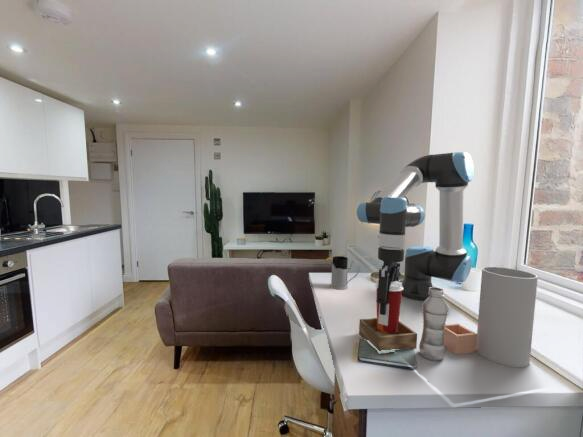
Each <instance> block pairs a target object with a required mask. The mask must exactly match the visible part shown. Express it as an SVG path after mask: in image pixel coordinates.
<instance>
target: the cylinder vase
mask: <svg viewBox="0 0 583 437" xmlns="http://www.w3.org/2000/svg"><path fill="white" fill-rule="evenodd" d="M538 277H539V276H538V275H537V274H536V273H533V272H530V271H525V270H522V269H515V268H511V267H510V268H508V267H502V266H484V267H482V268H481V279H480V290H479V291H480V293H479V303H478V315H477V316H478V317H477V318H478V320H477V329H476V330H477V331H476V333H477V346H476V352H478V354H479V355H481V356H482V357H483V358H485V359H487V360H489V361H491V362H493V363H496V364H499V365H502V366H504V367H505V366H506V367H510V368H526V367H528V366H529V365H530V362H531V353H532V352H531V351H532V341H533V331H534V319H535V309H536V299H537V287H538Z"/></svg>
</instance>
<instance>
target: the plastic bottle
mask: <svg viewBox="0 0 583 437" xmlns="http://www.w3.org/2000/svg"><path fill="white" fill-rule="evenodd" d="M444 292H445V291H444V289H443V288H440V287H437V286H436V287H435V286H433V287H430V288H429V292H428V295H429V297H428V298H427V299H426V300H425V301H423V303H422V319H423V322H422V323H423V324H422V332H421V333H422V334H421V339H420V342H419V346H418V347H419V348H418V349H419V352H420V354H421V356H422V357H423V358H424V359H427V360H428V361H433V362H440V361H442V360H444V357H445V355H446V347H445V345H444V330H445V329H444V328H445V325H446V321H447V317H448V314H449V307H448V305H447V302H445V299H444V297H445V295H444Z"/></svg>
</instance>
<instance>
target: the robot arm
mask: <svg viewBox="0 0 583 437" xmlns="http://www.w3.org/2000/svg"><path fill="white" fill-rule="evenodd" d="M474 174H475V166H474V162H473V159H472V156H471V155H470V154H469V153H468V152H465V151H461V152H460V151H459V152H458V151H454V152H445V153H438V154H427V155H423V156H420V157H418V158H416V159H414V160H413V161H411V162H409V163H408V164H406V166H405V167H404V168H402V169H401V170H400V173H399V175H398V176H397V177H396V178H395V179H394V180H392V182H390V184H388V185H387V186H386V187H385V188H384V189H383V190H382V191H381V192H380V193H379V194H378V195H377V196H375V197H374V198H373V199H372V200H371V201H370V202H368V201H367V202H366V201H365V202H361V203H359V204H358V206H357V208H356V218H357V220H359V221H360V222H361V223H366V224H376V225H379V230H378V232H379V234H378V235H377V238H378V245H379V247H378V248H377V249H378V250H377V258H378V260H380V261H382V262H383V263H382V264H383V265H382V266H381V268H380V269H378V280H379V283H378V294H377V293H376V301H375V302H376V304H377V303H379V319H378V323H379V324H382V325H386V326H388V316H389V304H388V300H389V289H390V285H391V282H393V281H395V282H396V281H398V282H400V269H401V268H400V267H401V262H404V275H403V276H404V277H403V280H402V282H401V283H402V287H403V288H404V289H403V290H402V297H404V298H406V299H409V300H414V301H419V302H424V301H425V300H426V299H427V298H428V297H429V295H428V292H429V288H430V287H434V286H433V282H432V278H434V279H435V278H436V279H439V280H444V281H450V282H452V283H459V284H461V283H464V282H466V280H467V279H468V278H469V275H470V273H471V270H472V265H473V259H472V257H471V256H469V255H467V250H466V249H465V248H464V247H463V242H464V241H463V238H464V237H463V236H464V234H463V233H464V230H463V229H464V226H463V225H464V190H465V189H467V188H468V186H469V183H470V182H472V181H473V179H474ZM425 183H426V184H427V183H435V188H436V189H437V190H438V192H439V233H438V234H439V246H437V247H436V248H434V247H432V246H411V247H407V248H406V250H405V249H404V248H405V245H406V244H405V243H406V228H414V227H417V226H419V225H422V224H423V222H424V220H425V218H426V214H425V210H424V208H423V207H422V206H421V205H418V204H415V203H408V200H407V198H406V196H407V195H408V194H409V193H410V192H411V191H412V189H414V188H416V187H419V186H420V185H421V184H425ZM434 249H435V251H434ZM404 258H405V259H404Z"/></svg>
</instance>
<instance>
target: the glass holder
mask: <svg viewBox="0 0 583 437" xmlns="http://www.w3.org/2000/svg"><path fill="white" fill-rule="evenodd" d="M348 262H349V260H348V257H346V256H341V255H340V256H332V261H331V279H330V285H329V286H330V288H331V289H334V290H337V291H338V290H339V291H341V290H343V291H344V290H347V289H348V288H349V286H348V284H349V282H351V281H352V280H353V279H355V278H356V277H357V276H358V275H359V272H360V267H361V265H360V262H359V261H356V260H354V261H352V262H351V263H350V268H348ZM354 263H358V269H357V270H358V271H357V273H356V274H355V275H354V276H353V277H351V278H350V279H348V270H351V269H352V267H353V266H352V265H353V264H354Z"/></svg>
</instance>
